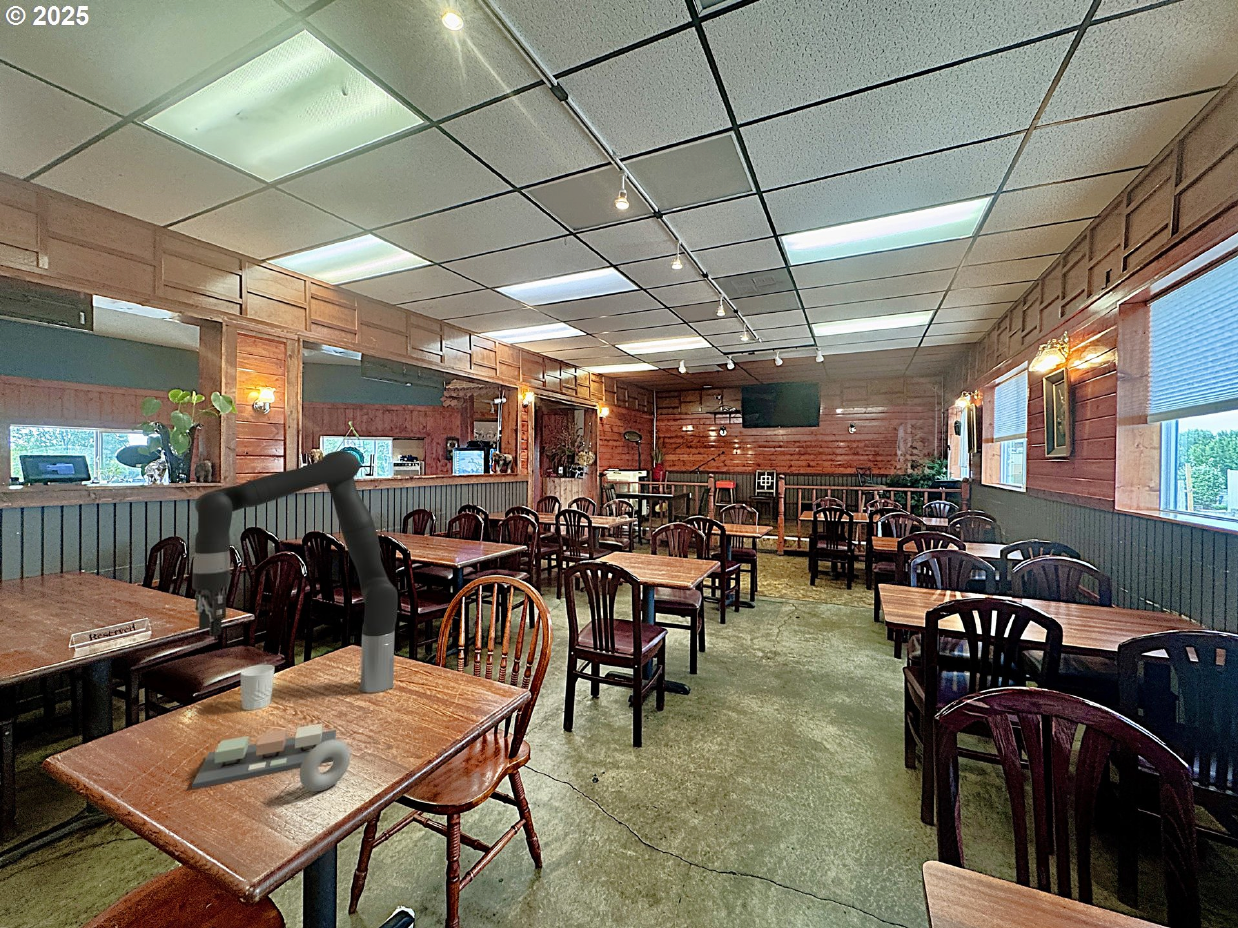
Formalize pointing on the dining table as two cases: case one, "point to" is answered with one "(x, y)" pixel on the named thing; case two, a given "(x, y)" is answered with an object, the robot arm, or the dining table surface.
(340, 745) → the donut
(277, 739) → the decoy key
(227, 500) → the robot arm
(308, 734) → the cream key
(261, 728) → the dining table surface
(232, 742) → the sage key
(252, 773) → the keypad plate
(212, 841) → the dining table surface
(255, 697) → the white cup
